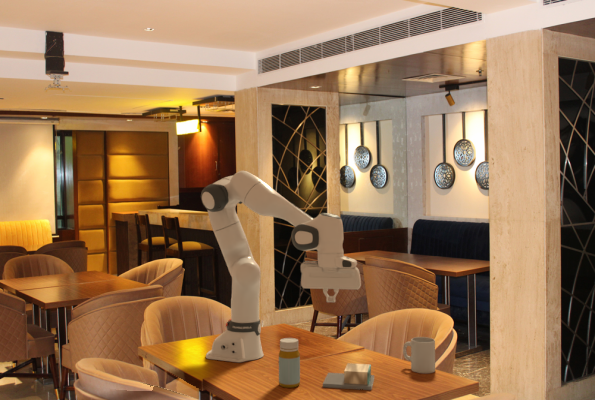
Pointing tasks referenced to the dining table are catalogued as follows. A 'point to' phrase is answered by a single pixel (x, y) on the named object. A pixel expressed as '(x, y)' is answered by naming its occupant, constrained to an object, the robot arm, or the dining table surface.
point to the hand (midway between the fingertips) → (331, 301)
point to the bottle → (289, 363)
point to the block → (357, 373)
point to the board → (338, 382)
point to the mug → (421, 354)
